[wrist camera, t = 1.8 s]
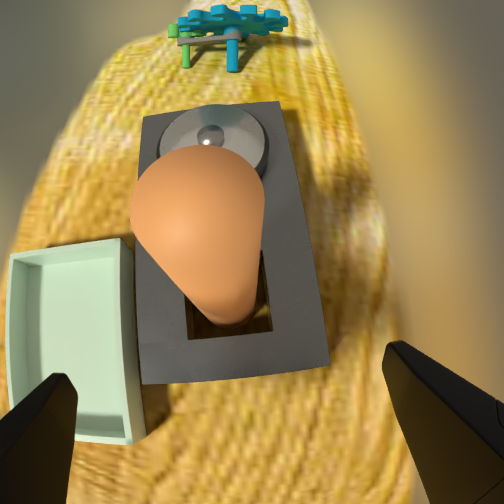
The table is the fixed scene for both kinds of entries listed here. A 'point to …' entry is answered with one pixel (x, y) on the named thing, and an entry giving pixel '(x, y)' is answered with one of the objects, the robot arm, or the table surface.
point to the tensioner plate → (271, 258)
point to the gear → (224, 29)
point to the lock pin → (204, 227)
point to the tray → (78, 334)
